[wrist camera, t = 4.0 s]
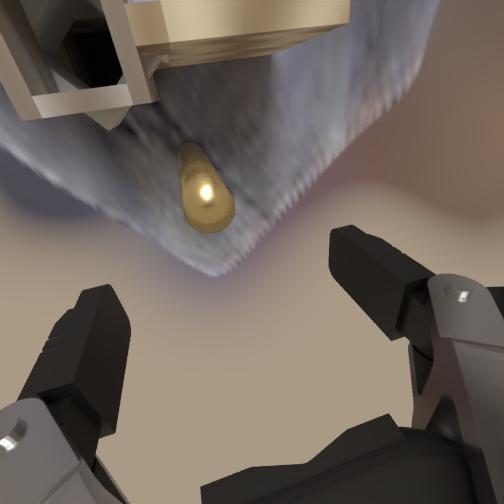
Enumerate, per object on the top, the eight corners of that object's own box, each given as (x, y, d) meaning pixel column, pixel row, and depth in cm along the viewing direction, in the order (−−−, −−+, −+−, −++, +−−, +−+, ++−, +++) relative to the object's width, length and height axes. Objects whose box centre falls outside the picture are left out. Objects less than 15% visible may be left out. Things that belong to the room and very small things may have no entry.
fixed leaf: (267, 1, 25) (355, -85, 13) (272, 83, 28) (345, 74, 16) (54, 20, 22) (-81, -70, 10) (90, 110, 25) (21, 121, 14)
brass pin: (200, 139, 29) (230, 179, 15) (206, 166, 31) (238, 226, 16) (173, 144, 28) (177, 190, 14) (180, 171, 30) (191, 237, 16)
